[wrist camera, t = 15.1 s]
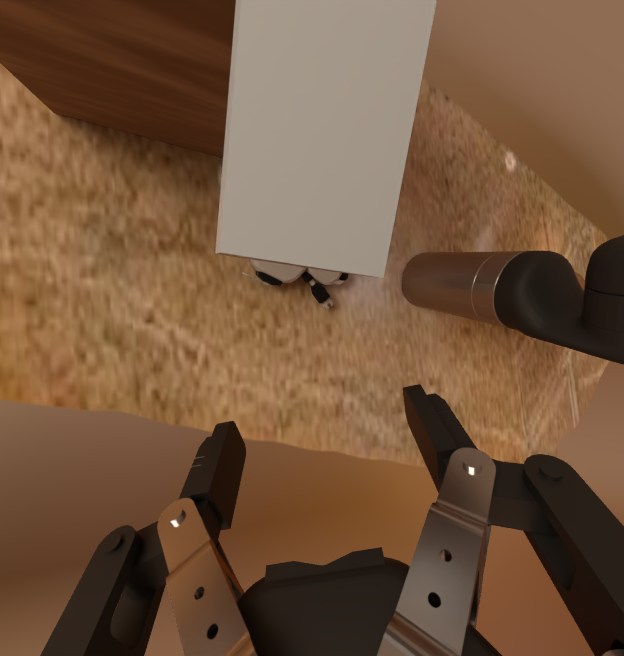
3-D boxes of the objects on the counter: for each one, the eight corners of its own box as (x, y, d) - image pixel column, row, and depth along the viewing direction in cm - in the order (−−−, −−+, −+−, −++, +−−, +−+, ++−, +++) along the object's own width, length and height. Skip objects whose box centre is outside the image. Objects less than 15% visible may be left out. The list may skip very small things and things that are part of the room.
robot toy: (354, 240, 46) (270, 185, 39) (371, 239, 42) (280, 178, 35) (321, 310, 47) (233, 269, 40) (334, 317, 43) (238, 272, 36)
